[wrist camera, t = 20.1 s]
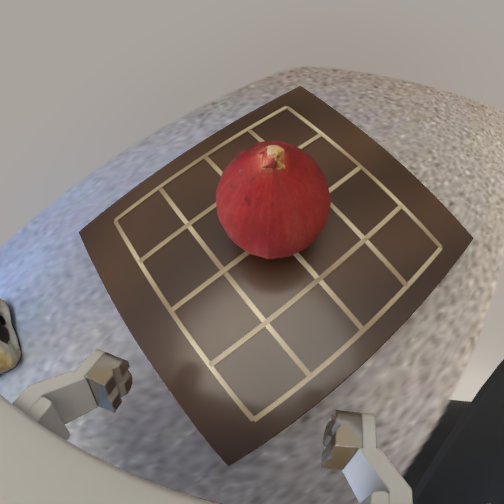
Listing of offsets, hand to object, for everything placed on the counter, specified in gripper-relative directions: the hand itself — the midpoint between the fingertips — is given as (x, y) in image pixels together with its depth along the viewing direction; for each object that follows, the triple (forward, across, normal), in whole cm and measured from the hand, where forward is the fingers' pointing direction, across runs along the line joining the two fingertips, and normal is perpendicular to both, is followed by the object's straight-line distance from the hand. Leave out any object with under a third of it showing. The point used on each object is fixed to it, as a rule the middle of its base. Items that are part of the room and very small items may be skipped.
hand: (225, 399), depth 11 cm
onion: (+11, 0, -3) cm, 11 cm away
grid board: (+12, 0, -2) cm, 12 cm away
